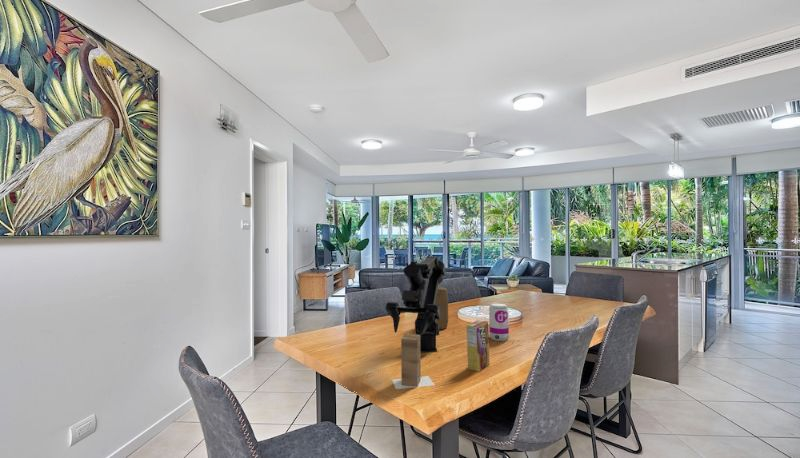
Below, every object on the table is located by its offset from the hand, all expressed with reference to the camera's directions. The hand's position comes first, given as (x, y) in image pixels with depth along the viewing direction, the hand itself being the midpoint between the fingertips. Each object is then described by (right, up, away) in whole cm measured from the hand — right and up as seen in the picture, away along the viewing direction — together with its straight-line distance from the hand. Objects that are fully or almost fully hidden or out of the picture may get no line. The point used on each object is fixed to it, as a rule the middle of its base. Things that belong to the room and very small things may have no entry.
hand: (408, 333), depth 115 cm
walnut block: (+1, -13, -8) cm, 15 cm away
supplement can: (+41, -14, +38) cm, 58 cm away
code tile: (+1, -13, -8) cm, 15 cm away
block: (+17, -15, +58) cm, 62 cm away
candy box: (+25, -13, +5) cm, 28 cm away
